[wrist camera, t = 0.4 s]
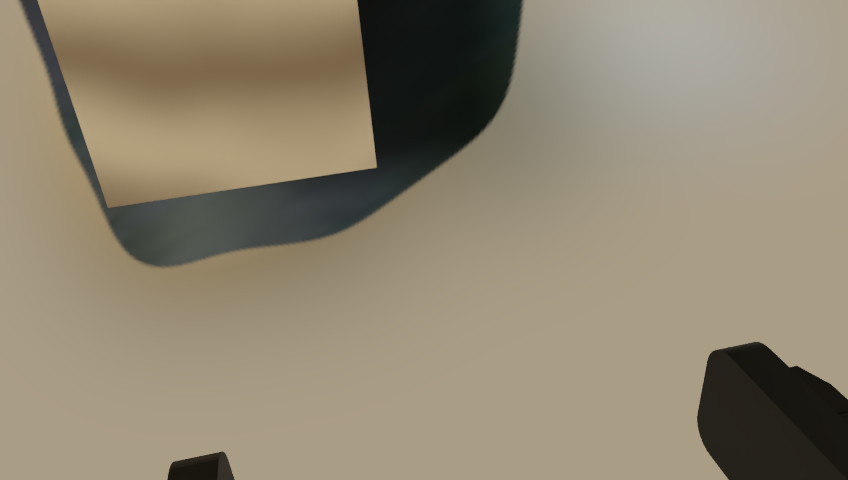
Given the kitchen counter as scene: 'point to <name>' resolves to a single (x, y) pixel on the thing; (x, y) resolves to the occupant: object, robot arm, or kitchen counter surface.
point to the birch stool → (213, 92)
